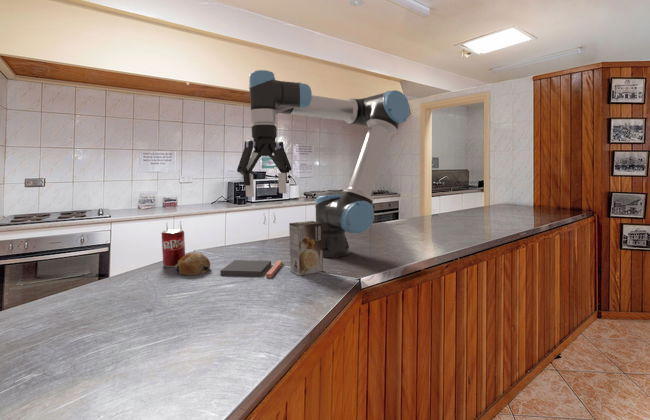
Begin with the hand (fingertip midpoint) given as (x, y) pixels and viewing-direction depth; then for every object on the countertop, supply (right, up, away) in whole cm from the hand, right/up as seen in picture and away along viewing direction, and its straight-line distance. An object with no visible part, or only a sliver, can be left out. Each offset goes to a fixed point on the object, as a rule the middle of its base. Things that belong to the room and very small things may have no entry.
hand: (267, 194), depth 110 cm
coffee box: (+12, -25, +5) cm, 28 cm away
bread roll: (-25, -25, +6) cm, 36 cm away
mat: (-8, -25, +7) cm, 27 cm away
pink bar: (+2, -25, +6) cm, 25 cm away
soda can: (-35, -24, +13) cm, 44 cm away
